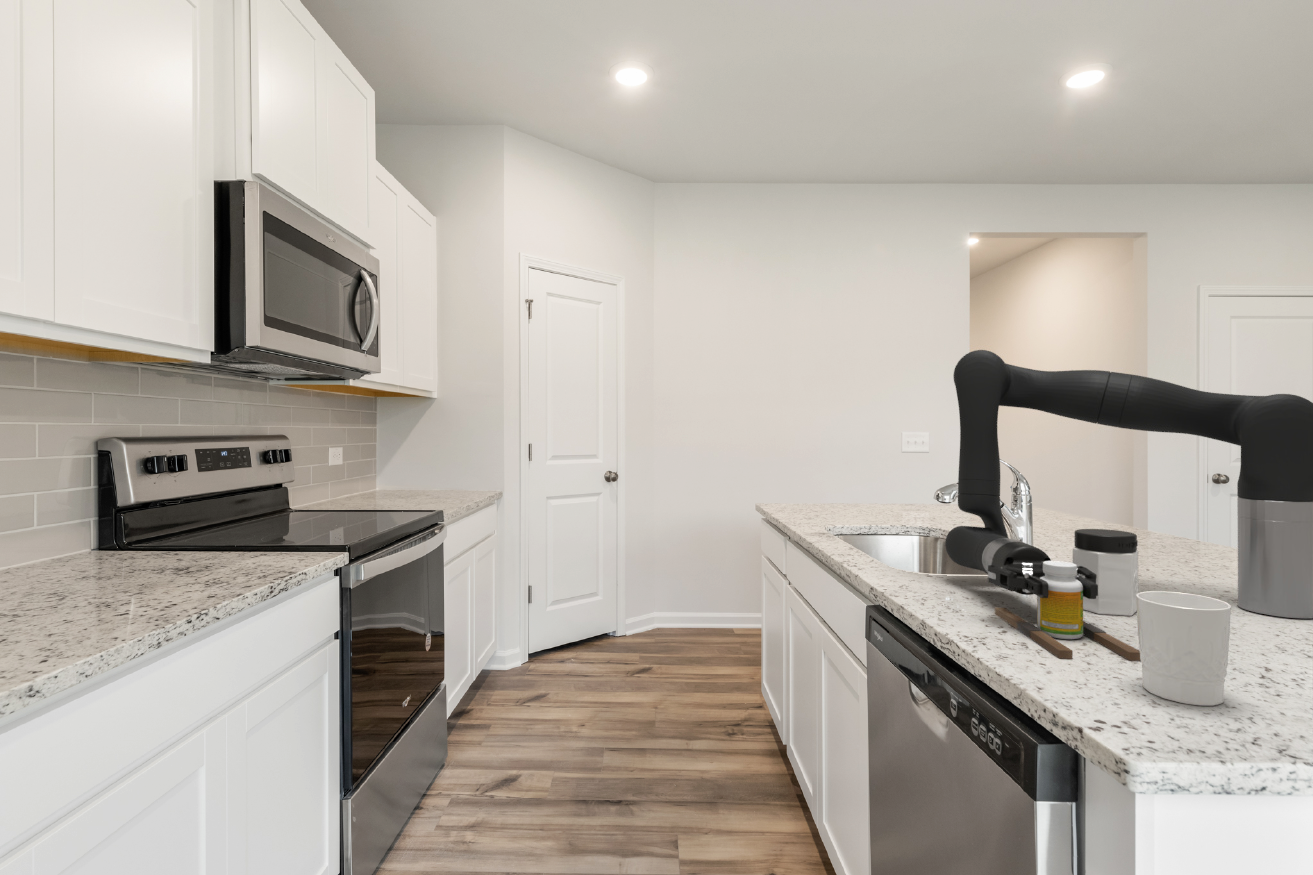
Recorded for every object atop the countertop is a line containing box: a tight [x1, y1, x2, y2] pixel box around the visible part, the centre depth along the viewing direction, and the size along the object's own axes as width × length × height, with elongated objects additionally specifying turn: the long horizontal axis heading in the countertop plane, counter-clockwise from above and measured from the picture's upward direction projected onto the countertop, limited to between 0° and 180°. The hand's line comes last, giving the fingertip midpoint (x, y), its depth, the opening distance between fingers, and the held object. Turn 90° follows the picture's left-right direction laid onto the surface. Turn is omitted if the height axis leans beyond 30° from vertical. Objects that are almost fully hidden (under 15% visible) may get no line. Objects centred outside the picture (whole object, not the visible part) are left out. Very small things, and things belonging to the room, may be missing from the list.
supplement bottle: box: [1036, 560, 1084, 640], centre depth 90 cm, size 5×5×10 cm
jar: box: [1072, 528, 1139, 617], centre depth 103 cm, size 9×8×12 cm
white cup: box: [1136, 590, 1232, 707], centre depth 70 cm, size 8×8×10 cm
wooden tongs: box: [994, 607, 1141, 662], centre depth 90 cm, size 10×20×1 cm, turn 173°
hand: (1069, 590), depth 88 cm, fingers closed on supplement bottle, 5 cm apart
